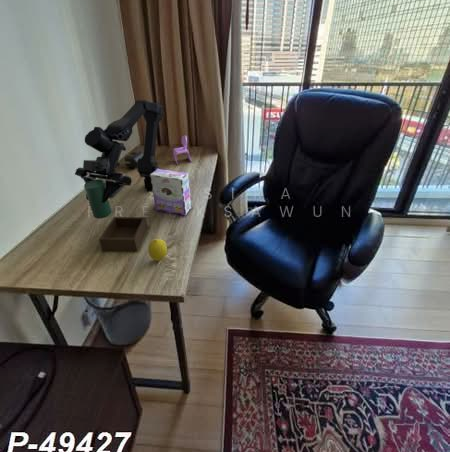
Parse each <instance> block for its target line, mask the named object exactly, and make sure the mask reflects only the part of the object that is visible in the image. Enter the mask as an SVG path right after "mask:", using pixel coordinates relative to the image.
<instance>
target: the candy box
mask: <svg viewBox="0 0 450 452" xmlns="http://www.w3.org/2000/svg"><path fill="white" fill-rule="evenodd" d="M150 179H151V184H152V190H153V191H152V195H153V200H154V205H155V210H156V211H161V212H166V213H170V214H176V215H179V216H186V215H187V214H188V213H189V212H190V211H191V209H192V200H191V199H192V198H191V191H190V190H191V189H190V180H189V179H190V178H189V173H188V172H182V171H175V170H168V169H162V168H160V169H157V170H155V171H154V172H153V173H152V174H150Z"/></svg>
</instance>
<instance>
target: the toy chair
mask: <svg viewBox="0 0 450 452" xmlns="http://www.w3.org/2000/svg"><path fill="white" fill-rule="evenodd" d="M181 145H182V146H181V147H175V148H173V151H172V153H173V159H174V162H175V163H176V165H179V163H178V161H177V157H178V155H179V154H184V153H185V154H186V156H187V159H188V160H189V161H190V163H192V162H193V161H192V158H191V156H190V152H189V149H188V137H187V135H182V136H181Z"/></svg>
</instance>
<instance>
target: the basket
mask: <svg viewBox="0 0 450 452" xmlns="http://www.w3.org/2000/svg"><path fill="white" fill-rule="evenodd" d="M148 229H149V227H148V223H147V217H146V216H113V218H112V219H111V221H110V222H109V223H108V225H107V226H106V228H105V230H104V231H103V232H102V234H101V236H100V237H99V238H98V242H99V245H100V248H101V251H102V252H138V251H139V249H140V246H141V245H142V242H143V240H144V238H145V235H146V233H147V231H148Z"/></svg>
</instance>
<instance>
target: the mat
mask: <svg viewBox="0 0 450 452" xmlns="http://www.w3.org/2000/svg"><path fill="white" fill-rule="evenodd" d="M104 185H105V188H106V182H104ZM122 186H123V187H124V186H125V185H123V184H122ZM123 187H120V188H119V189H118V190H117V191H115V192H114V193H113V194H112V195H111V197H110V198H114V196H115V195H116V194H117V193H119V192H120V190H121V189H122V188H123Z"/></svg>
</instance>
